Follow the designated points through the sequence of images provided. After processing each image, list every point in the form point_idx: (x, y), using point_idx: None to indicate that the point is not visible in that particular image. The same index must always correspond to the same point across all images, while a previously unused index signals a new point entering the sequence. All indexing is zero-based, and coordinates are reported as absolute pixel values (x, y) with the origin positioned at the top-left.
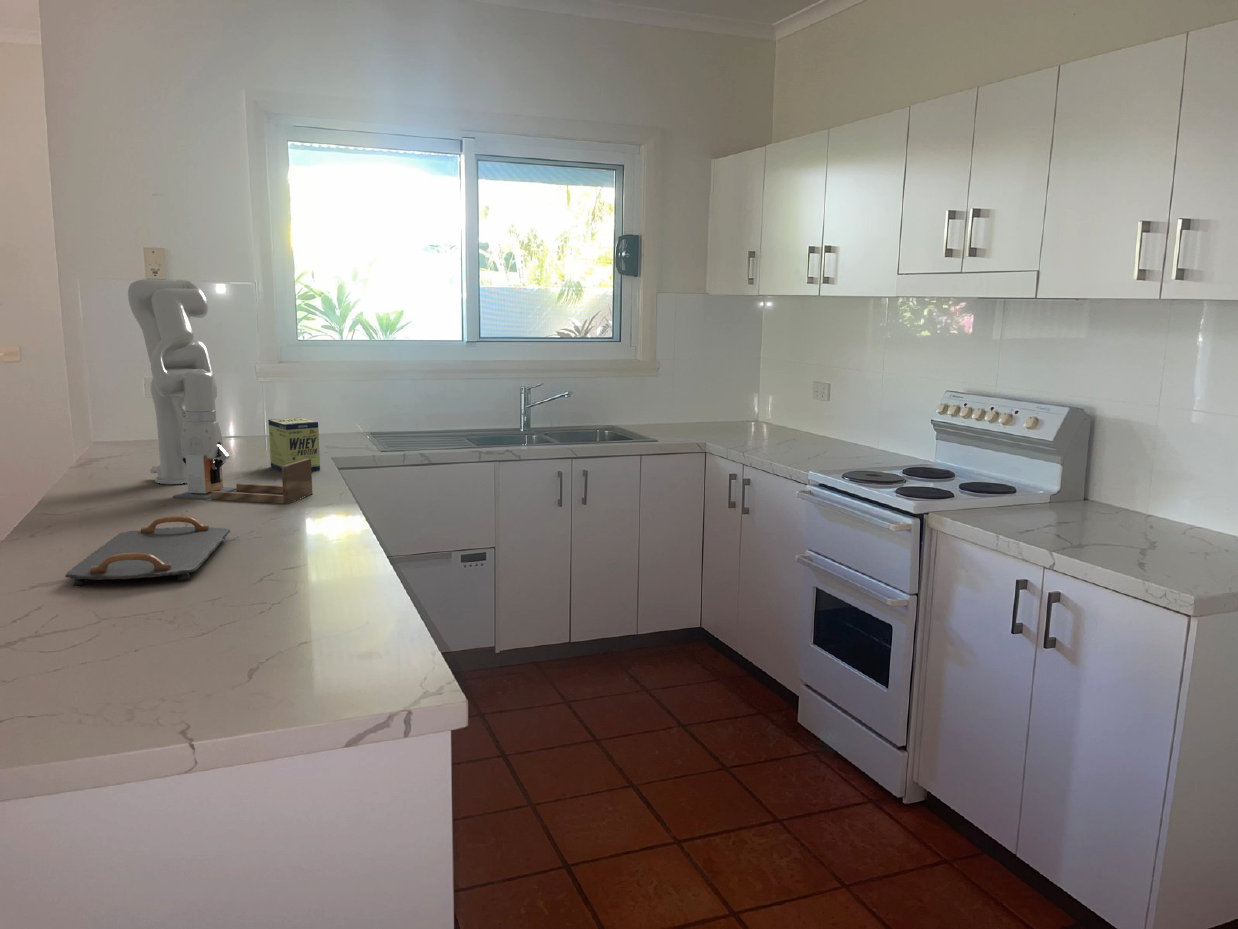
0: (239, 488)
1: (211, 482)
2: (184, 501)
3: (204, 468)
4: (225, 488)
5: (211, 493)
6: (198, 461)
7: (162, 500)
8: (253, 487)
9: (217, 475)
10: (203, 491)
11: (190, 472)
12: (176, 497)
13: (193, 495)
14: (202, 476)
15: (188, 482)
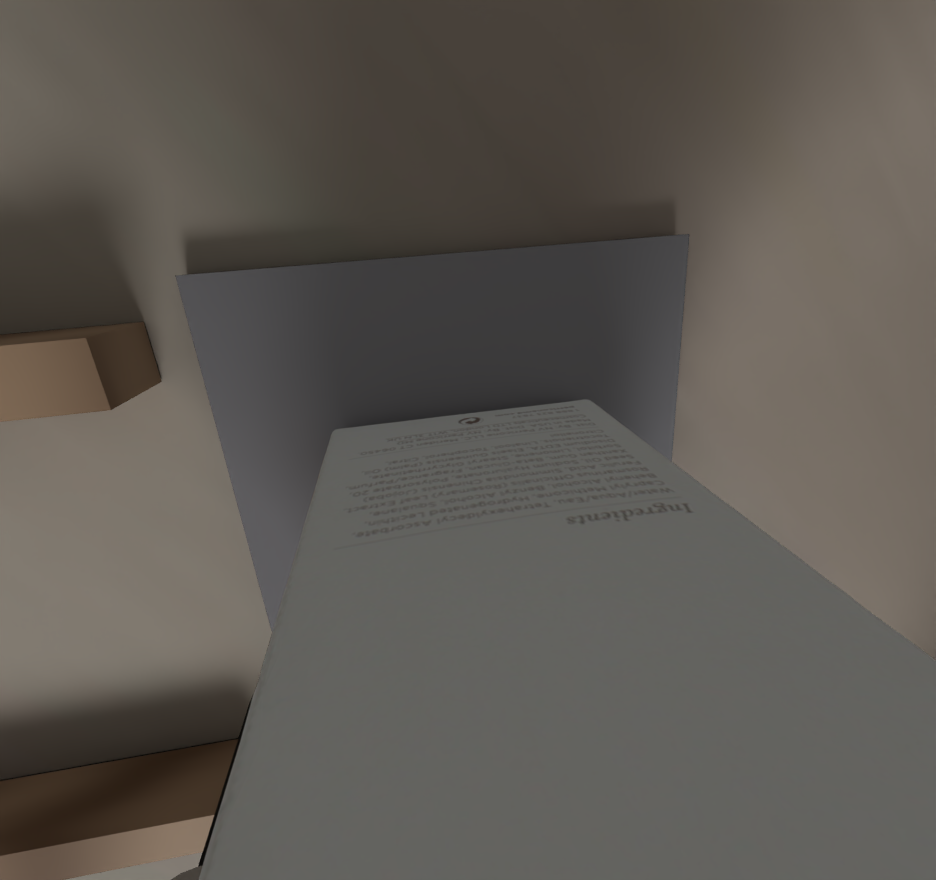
0: (225, 767)
1: None
2: (374, 58)
3: (241, 744)
4: None
5: (91, 334)
6: None
7: (710, 22)
8: (26, 822)
9: None
10: (358, 431)
11: (670, 550)
12: (633, 239)
13: (456, 342)
14: (343, 553)
15: (627, 445)
